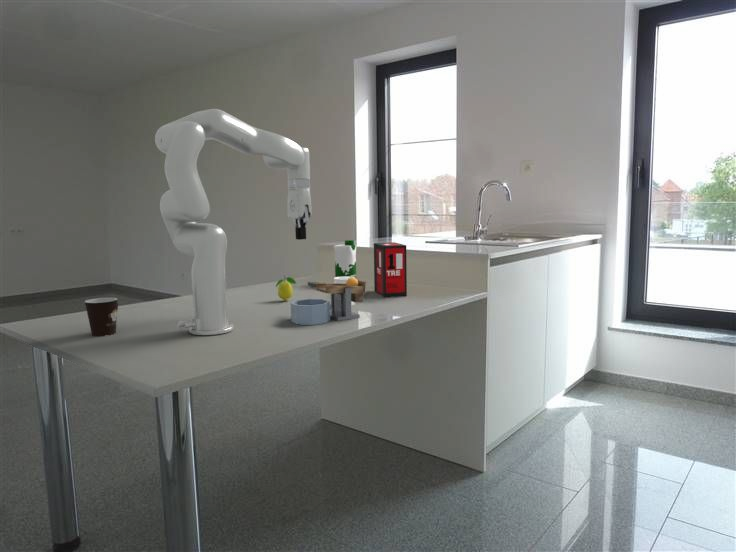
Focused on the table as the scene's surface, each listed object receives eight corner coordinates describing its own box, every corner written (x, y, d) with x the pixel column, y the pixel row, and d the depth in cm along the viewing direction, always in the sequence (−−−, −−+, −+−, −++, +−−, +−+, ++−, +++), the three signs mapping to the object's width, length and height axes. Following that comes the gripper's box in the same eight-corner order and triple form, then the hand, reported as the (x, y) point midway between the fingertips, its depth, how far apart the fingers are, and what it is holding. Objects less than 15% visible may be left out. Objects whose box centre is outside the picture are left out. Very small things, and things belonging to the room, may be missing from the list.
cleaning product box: (374, 291, 233) (373, 243, 230) (395, 289, 235) (394, 242, 232) (384, 297, 217) (384, 246, 214) (406, 296, 219) (406, 245, 216)
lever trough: (326, 302, 175) (327, 281, 174) (307, 296, 186) (308, 276, 186) (364, 302, 182) (365, 281, 182) (343, 296, 194) (344, 277, 193)
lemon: (297, 301, 212) (296, 275, 211) (282, 303, 209) (281, 276, 207) (289, 298, 217) (288, 273, 216) (275, 300, 214) (274, 274, 213)
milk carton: (350, 287, 245) (349, 241, 242) (332, 286, 248) (331, 241, 246) (359, 284, 253) (358, 239, 250) (341, 283, 256) (340, 239, 254)
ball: (348, 289, 181) (351, 277, 181) (342, 287, 184) (345, 275, 184) (359, 291, 183) (361, 279, 183) (353, 289, 186) (355, 277, 186)
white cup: (353, 307, 198) (352, 279, 197) (331, 307, 200) (331, 279, 198) (358, 303, 206) (357, 276, 204) (337, 302, 207) (336, 276, 206)
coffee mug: (99, 338, 158) (96, 303, 157) (81, 335, 163) (78, 301, 162) (135, 330, 168) (132, 297, 167) (117, 327, 173) (115, 295, 171)
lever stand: (337, 320, 176) (337, 289, 175) (323, 315, 185) (322, 285, 183) (359, 317, 180) (359, 287, 179) (344, 312, 189) (343, 283, 187)
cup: (302, 326, 169) (301, 307, 168) (287, 320, 179) (286, 301, 178) (335, 321, 175) (334, 302, 174) (318, 315, 185) (318, 297, 184)
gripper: (279, 185, 193) (281, 238, 195) (298, 184, 180) (300, 241, 183) (299, 185, 197) (301, 237, 199) (319, 184, 184) (321, 239, 187)
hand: (301, 239), depth 191 cm, fingers closed
